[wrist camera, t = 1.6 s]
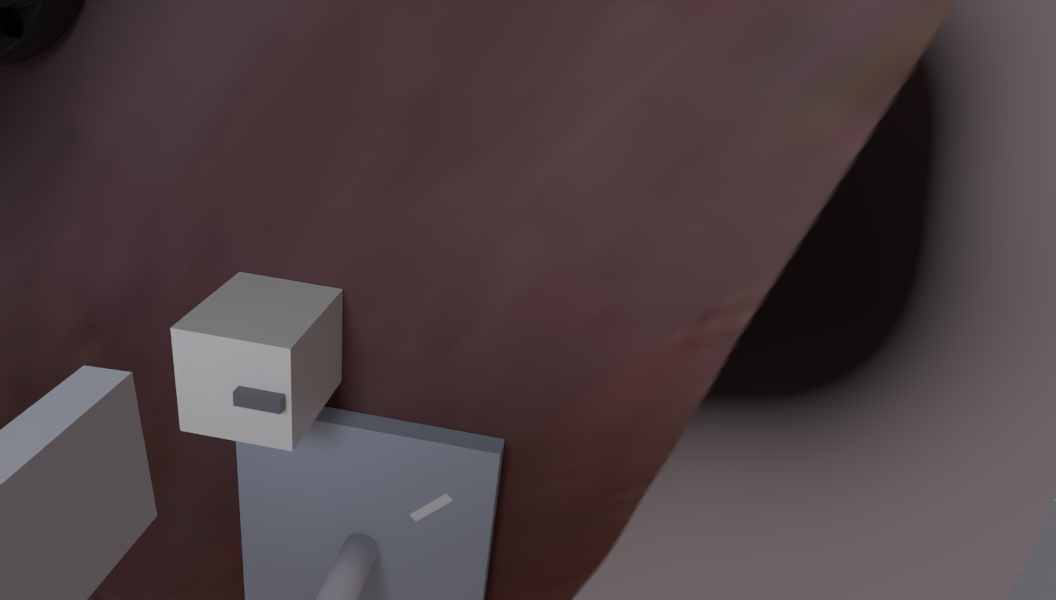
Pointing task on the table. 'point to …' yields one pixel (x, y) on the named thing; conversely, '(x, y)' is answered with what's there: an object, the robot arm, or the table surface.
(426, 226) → the table surface
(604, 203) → the table surface
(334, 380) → the white box
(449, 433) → the plate
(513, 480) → the table surface
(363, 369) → the table surface
